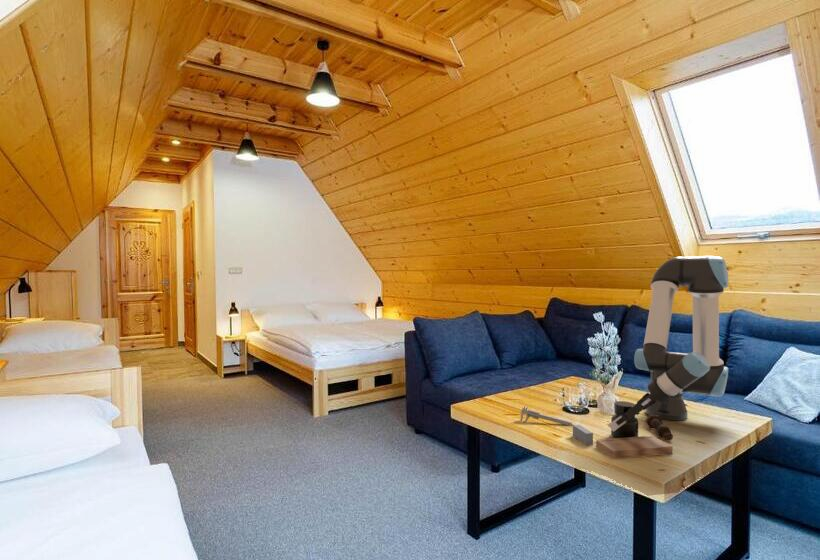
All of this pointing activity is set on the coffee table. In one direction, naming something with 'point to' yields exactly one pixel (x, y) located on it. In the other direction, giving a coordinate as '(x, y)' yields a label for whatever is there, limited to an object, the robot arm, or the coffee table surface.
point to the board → (634, 447)
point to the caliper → (542, 416)
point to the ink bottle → (630, 426)
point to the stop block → (583, 434)
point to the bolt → (659, 427)
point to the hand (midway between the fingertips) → (615, 424)
